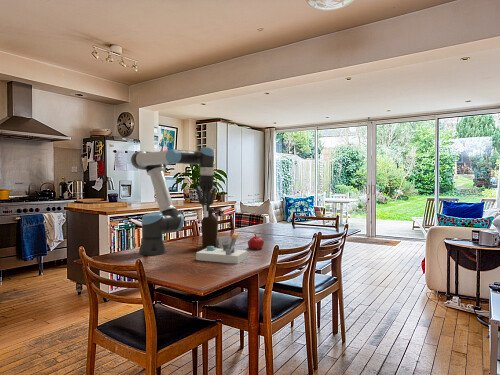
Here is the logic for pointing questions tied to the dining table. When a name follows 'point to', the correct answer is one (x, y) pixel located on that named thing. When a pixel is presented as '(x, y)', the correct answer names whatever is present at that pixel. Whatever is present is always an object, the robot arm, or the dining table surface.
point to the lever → (233, 241)
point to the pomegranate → (255, 242)
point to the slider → (225, 246)
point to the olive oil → (209, 230)
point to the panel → (222, 255)
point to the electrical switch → (222, 241)
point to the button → (210, 248)
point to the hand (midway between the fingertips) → (205, 216)
